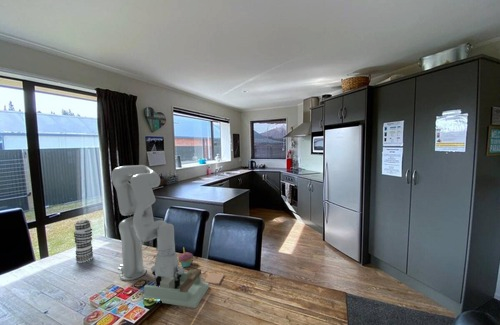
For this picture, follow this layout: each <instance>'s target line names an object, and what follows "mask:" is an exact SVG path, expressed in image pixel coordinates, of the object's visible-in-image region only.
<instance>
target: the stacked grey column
mask: <svg viewBox="0 0 500 325" xmlns="http://www.w3.org/2000/svg"><path fill="white" fill-rule="evenodd" d="M91 223H92V222H91V221H90V220H89V219H81V220H78V221H76V223H74V228H75V229H74V232H73V237H74V243H75V246H76V247H75V260H76V261H75V262H76V263H77V262H78V263H77V264H83V263H87V262H89V261H91V260H92V259H94V251H93V244H92V240H93V237H92V236H93V232H92V231H93V228H92V226H91ZM90 259H91V260H90ZM88 260H89V261H88ZM86 261H87V262H86ZM82 262H83V263H82Z"/></svg>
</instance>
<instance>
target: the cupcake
mask: <svg viewBox="0 0 500 325" xmlns="http://www.w3.org/2000/svg"><path fill="white" fill-rule="evenodd" d="M182 249H183V253H180V255H179V256H178V257H177V258H178V263H180V265H181V268H182V267H183V268H188V267H189V266H191V262H192V260H193V259H194V254H193V253H191V252H188V251H186V250H185V247H184V246H183V247H182Z"/></svg>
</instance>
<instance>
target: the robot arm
mask: <svg viewBox="0 0 500 325" xmlns="http://www.w3.org/2000/svg"><path fill="white" fill-rule="evenodd" d="M110 177H111V182H112V185H113V187H114V188H115V190H116V197H117V202H118V208H119V213H120V214H121V216H130V217H128V218H125V219H122V220H121V221H120V222H119V224H118V229H119V230H118V231H119V235H120V239H121V253H122V254H121V255H122V263H121V264H120V265H119V266H118V268H117V270H118V271H121V273H120V275H119V278H120V280H122V281H124V282H125V281H127V282H128V281H134V280H136V279H137V280H138V279H139V278H141V277H142V276H144V275H145V274H146V272H147V267H145V266H143V265H144V264H143V263H144V261H143V243H145V242H150V241H152V240H155V239H156V241H157V242H156V244H157V246H156V248H155V251H157V253H156V255H155V260H154V261H155V262H154V265H153V266H151V267H150V271H151V272H152V273H151V274H152V275H153V276H154V279H155V283H156V286H159V285H160V282H161V281H162V278H161V277H174V279H175V281H174V284H175V289H177V288H178V286H179V285H180V277H181V276H182V275H183V273H184V272H186V271H185V269H184V268H182V266H179V261H178V258H179V257H178V255H177V252H176V243H175V226H174V225H173V224H172V223H169V222H168V223H167V222H166V221H165V220H156V221H155V220H154V215H153V208H152V207H153V206H152V205H153V204H155V202H156V196H155V194H154V191H153V189H154V188H157V187H159V186H160V184H161V178H160V175H159V174H158V173H157V172H156V171H155V170H153V169H152V168H150V167H149V166H147V165H144V164H138V165H137V164H136V165H135V164H134V165H122V166H118V167H115V168H114V169H113V170H112V171H111V176H110ZM131 215H133V216H131ZM178 271H179V272H180V274H179V273H178ZM175 274H176V275H177V276H178V277H177V276H176V275H175Z"/></svg>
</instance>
